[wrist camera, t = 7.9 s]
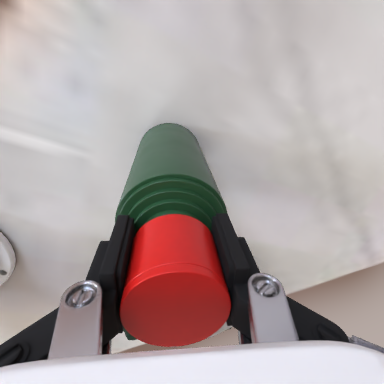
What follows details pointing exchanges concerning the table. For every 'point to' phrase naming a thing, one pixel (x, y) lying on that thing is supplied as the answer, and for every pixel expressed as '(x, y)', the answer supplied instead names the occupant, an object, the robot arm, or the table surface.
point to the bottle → (170, 179)
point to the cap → (174, 283)
